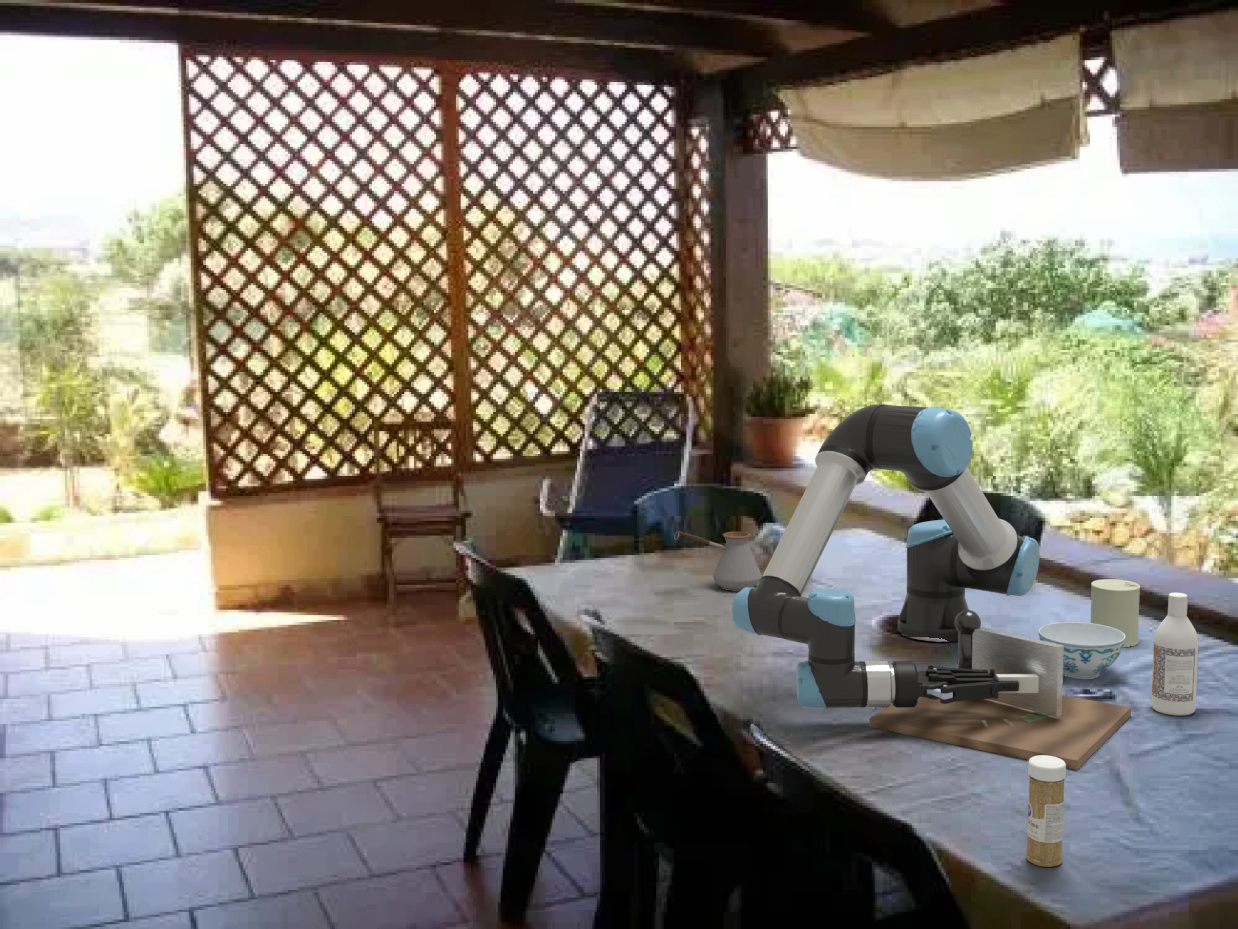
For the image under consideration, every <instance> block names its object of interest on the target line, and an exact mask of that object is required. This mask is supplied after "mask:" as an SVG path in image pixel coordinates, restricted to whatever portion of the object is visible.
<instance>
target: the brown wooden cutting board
mask: <svg viewBox="0 0 1238 929" xmlns="http://www.w3.org/2000/svg"><path fill="white" fill-rule="evenodd" d="M1131 716H1132V707H1131V706H1125V705H1118V704H1114V703H1108V702H1101V701H1097V700H1091V699H1085V698H1078V697H1073V696H1068V695H1063V694H1062V715H1060V716H1058V717H1054V716H1051V715H1047V714H1043V713H1039V712H1035V711H1032V710H1028V709H1024V708H1020V707H1017V706H1013V705H1009V704H1005V703H1002V702H998V701H994V700H990V699H979V700H967V701H956V702H951V703H947V704H942V703H940V698H939V699H929V698H927V697H919V698H918V702H917V705H916V706H915V707H907V708H896V707H895V706H893V704H891V705H890V706H889V707H884V708H883V709H882V710H880V711H879V712H877V713H875V714H873V715H872V716H871V717H870V718H869V728H872V729H877V730H883V731H887V730H889V731H888V732H892V731H893V733H897V734H902V735H906V736H912V737H916V738H921V739H925V740H926V739H927V740H931V741H935V742H941V743H945V744H950V745H955V746H961V747H965V748H969V749H974V750H979V751H984V752H988V753H994V754H998V755H1003V756H1007V757H1012V758H1016V759H1017V758H1018V759H1021V760H1027V761H1029V759H1030V758H1032V757H1034V756H1038V755H1048V756H1054V757H1057V758H1060V759H1062V760H1063V761H1064V762H1065V764H1066V769H1068V770H1069V769H1070V770H1074V771H1075V770H1076V771H1078V770H1079V768H1081V767H1082V766H1083V765H1084V764H1085V763H1086V761H1088V760H1089V759H1090V757H1092V756H1093V755H1094V754H1095V753H1096V752H1097V751H1098V750H1099V749H1100V748H1101V747H1102V745H1104V743H1106V742H1107V741H1108V739H1110V738H1111V736H1113V735H1114V734H1115V733H1116V731H1118V730H1119V729H1120V728H1121V727H1122V725H1124V724H1125V723H1126V722H1127V720H1129V719H1130V718H1131Z"/></svg>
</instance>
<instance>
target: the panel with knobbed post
mask: <svg viewBox="0 0 1238 929" xmlns="http://www.w3.org/2000/svg"><path fill="white" fill-rule="evenodd" d="M954 623H955V628H956V629H957V631H958V632H959V635H958V641H957V642H958V644H957V645H958V646H957V647H958V648H957V649H958V651H957V652H958V653H957V668H963V669H979V670H988V673H990V669H994V670H995V676H996V674H1037V676H1038V677H1039V684H1038V693H998V699H995V698H990V700H994V701H998V702H1002V703H1005V704H1009V705H1013V706H1017V707H1020V708H1024V709H1028V710H1032V711H1035V712H1039V713H1043V714H1047V715H1051V716H1054V717H1058V716H1060V715H1062V695H1063V689H1064V688H1063V687H1064V686H1063V685H1064V684H1063V681H1064V680H1063V679H1064V675H1063V653H1064V645H1060V644H1055V643H1051V642H1046V641H1042V640H1040V639H1036V638H1031V637H1028V636H1023V635H1018V634H1014V633H1009V632H1005V631H1000V630H996V629H992V628H986V627H982V621H981V617H980V615H979V614H978V613H977V612H975V611H973V610H971V609H969V610H964V611H961V612H960V613H958V614H957V616H956V618H955V622H954Z"/></svg>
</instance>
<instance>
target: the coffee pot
mask: <svg viewBox="0 0 1238 929" xmlns="http://www.w3.org/2000/svg"><path fill="white" fill-rule="evenodd" d="M677 534H678V535H677ZM676 535H677V538H676ZM680 536H683V537H684V538H687V539H691V541H694V542H698V543H701V544H705V545H709V546H712V547H715V548H717V549H720V550H722V552H721V555H720V557H719V560H718V561H717V565H716V567H715V568H714V571H713V573H712V577H713V578H712V579H713V581H714V582H715V583H716V584H717V585H718V586H720V588H721V589H722V590H724V589H727V590H732V591H731V592H740V591H741V590H742V589H743V588H751V587H756V586H757V585H758V583H759V581H760V579H761V578H762V576H763V574H762V573H761V570H760V568H759V566H758V564H757V561H756V558H755V556H754V554H753V552H752V549H751V548H750V545H749V538H750V537H751V536H752V535H751V533H749V532H746V531H728V532H724V533H723V534H722V536H723V537H724V539H725V542H726V543H725V545H723V544H720V543H716V542H714V541H710V540H708V539H706V538H703V537H700V536H699V535H695V534H690V533H688V532H683V531H680V530H677V531H676V532H675V533H674V535H673V539H674V540H678V539H679V538H680ZM727 590H726V591H727Z"/></svg>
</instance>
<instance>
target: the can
mask: <svg viewBox="0 0 1238 929" xmlns="http://www.w3.org/2000/svg"><path fill="white" fill-rule="evenodd" d="M1090 585H1091V588H1090V590H1091V591H1090V592H1091V593H1090V595H1091V596H1090V597H1091V598H1090V604H1091V606H1090V623H1093V624H1099V625H1104V626H1109V627H1112V628H1115V629H1117V630H1120V631H1121V632H1123V633H1124V634H1125V642H1124V646H1123V648H1130V646H1132V647H1135V646H1137V645H1138V644H1139V617H1140V616H1139V614H1140V613H1139V612H1140V611H1139V610H1140V595H1141V593H1140V592H1141V591H1140V590H1141V585H1140V584H1139V583H1137V582H1134V581H1131V580H1125V579H1116V578H1108V579H1107V578H1106V579H1096V580H1092V582H1091V584H1090ZM1136 644H1137V645H1136Z"/></svg>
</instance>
